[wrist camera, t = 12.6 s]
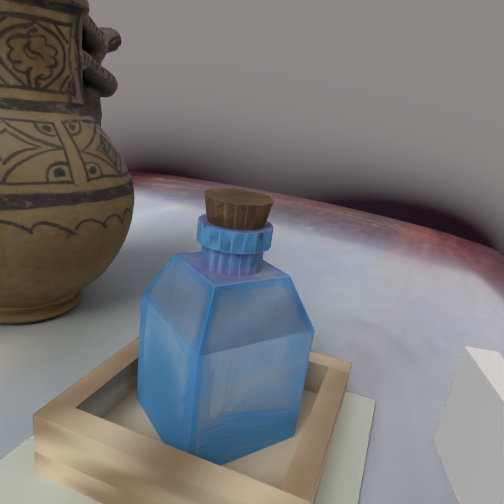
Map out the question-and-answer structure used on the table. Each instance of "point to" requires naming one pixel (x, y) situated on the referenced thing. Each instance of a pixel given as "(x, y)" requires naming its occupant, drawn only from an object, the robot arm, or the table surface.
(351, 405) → the felt mat
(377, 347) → the table surface
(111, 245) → the decorative pitcher
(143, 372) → the perfume bottle
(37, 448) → the oak box
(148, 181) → the table surface
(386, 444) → the table surface
